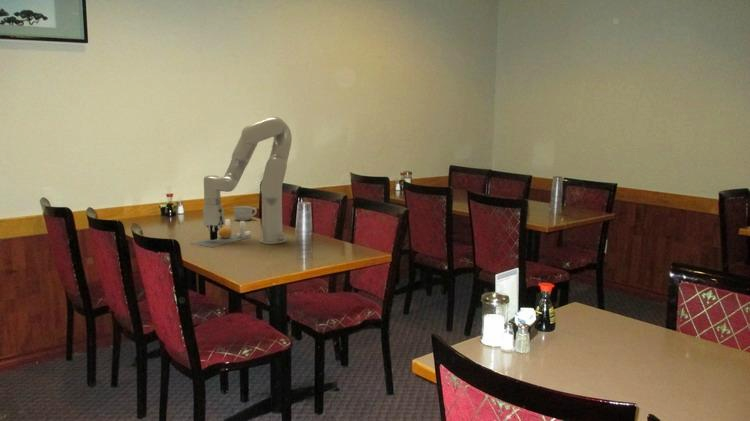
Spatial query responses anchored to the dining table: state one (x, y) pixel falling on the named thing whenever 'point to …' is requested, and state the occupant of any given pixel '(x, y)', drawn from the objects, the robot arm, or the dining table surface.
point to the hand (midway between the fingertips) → (213, 239)
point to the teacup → (244, 213)
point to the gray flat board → (219, 241)
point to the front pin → (245, 234)
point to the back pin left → (242, 229)
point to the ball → (225, 232)
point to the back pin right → (227, 223)
